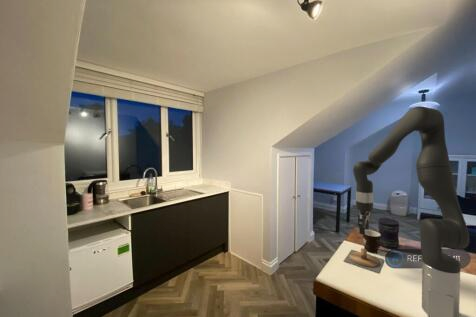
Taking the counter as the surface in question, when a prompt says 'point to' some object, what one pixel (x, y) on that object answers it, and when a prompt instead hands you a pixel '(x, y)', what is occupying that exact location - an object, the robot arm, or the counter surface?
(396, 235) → the storage jar
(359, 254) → the lid
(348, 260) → the mat
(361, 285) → the counter surface
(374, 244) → the coffee mug
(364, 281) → the counter surface
